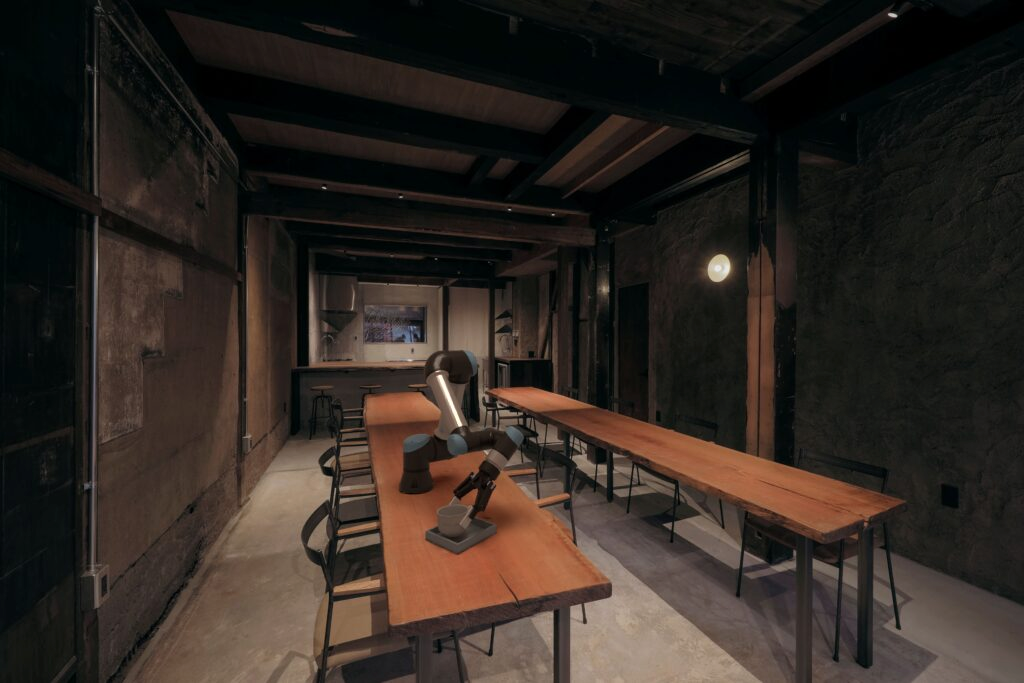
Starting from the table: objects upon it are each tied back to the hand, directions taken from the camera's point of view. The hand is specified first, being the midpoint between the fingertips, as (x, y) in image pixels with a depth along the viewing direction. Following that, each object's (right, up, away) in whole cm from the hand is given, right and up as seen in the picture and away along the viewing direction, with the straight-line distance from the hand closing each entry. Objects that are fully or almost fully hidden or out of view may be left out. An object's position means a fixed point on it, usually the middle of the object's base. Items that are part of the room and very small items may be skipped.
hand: (453, 520), depth 140 cm
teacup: (+1, -4, +1) cm, 4 cm away
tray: (+2, -6, +2) cm, 7 cm away
